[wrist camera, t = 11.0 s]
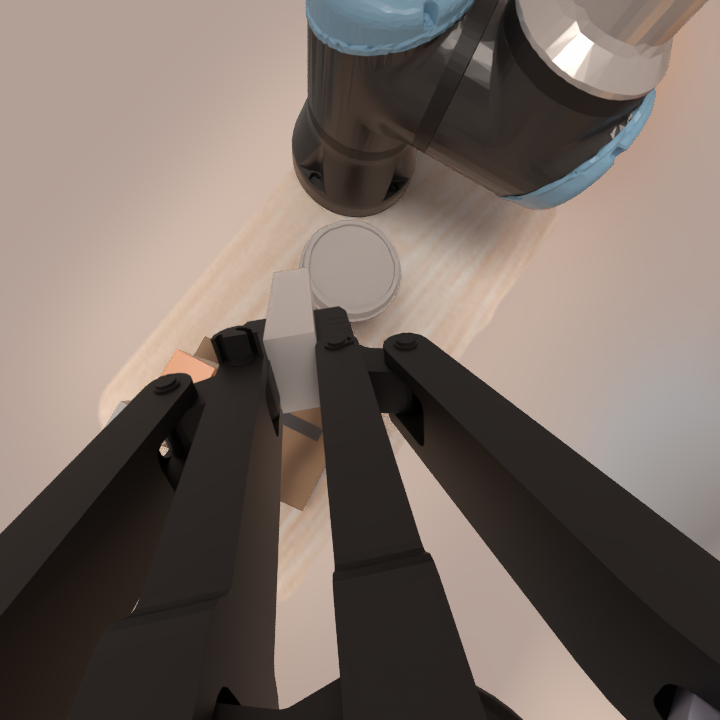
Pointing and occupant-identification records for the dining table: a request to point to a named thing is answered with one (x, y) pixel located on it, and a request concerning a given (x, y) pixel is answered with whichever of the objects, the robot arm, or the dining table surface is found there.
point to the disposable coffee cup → (352, 269)
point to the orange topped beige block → (191, 366)
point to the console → (292, 446)
